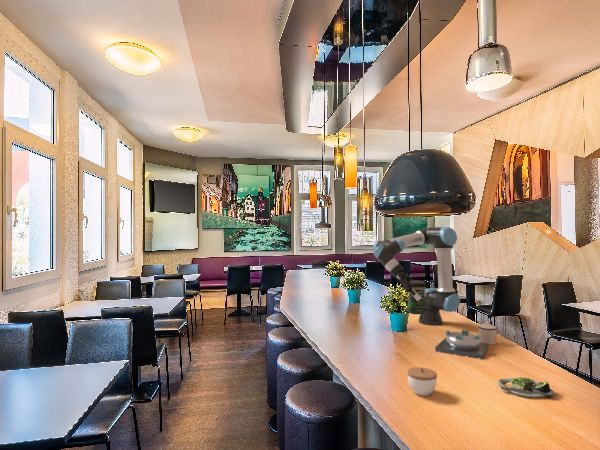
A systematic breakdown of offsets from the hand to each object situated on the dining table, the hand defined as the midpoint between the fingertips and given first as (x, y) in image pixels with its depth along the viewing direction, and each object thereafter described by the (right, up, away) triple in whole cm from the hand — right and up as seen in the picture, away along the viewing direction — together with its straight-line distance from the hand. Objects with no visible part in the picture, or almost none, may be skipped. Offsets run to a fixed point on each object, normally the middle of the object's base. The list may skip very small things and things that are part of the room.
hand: (422, 298), depth 208 cm
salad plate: (+21, -24, -62) cm, 70 cm away
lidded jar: (-21, -24, -65) cm, 72 cm away
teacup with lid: (+36, -25, +1) cm, 44 cm away
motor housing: (+17, -24, -12) cm, 32 cm away
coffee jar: (-3, -9, +2) cm, 10 cm away
